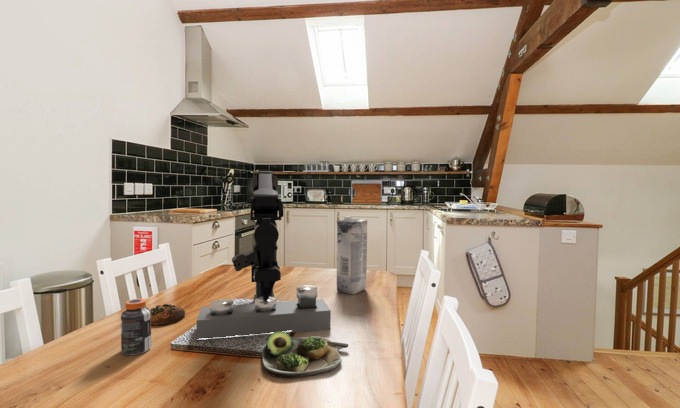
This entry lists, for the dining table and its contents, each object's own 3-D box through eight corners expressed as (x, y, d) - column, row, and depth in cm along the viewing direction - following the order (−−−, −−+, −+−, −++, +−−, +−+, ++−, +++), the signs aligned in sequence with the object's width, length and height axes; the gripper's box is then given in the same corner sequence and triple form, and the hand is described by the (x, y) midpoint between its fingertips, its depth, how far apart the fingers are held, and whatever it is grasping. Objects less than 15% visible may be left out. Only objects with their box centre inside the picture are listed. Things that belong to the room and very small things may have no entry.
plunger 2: (295, 310, 101) (295, 285, 100) (314, 308, 102) (315, 284, 102) (297, 317, 95) (298, 291, 95) (318, 315, 97) (319, 290, 96)
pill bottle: (157, 347, 83) (156, 298, 83) (132, 358, 78) (132, 306, 77) (139, 342, 86) (139, 295, 85) (115, 352, 81) (114, 302, 80)
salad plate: (340, 338, 91) (340, 319, 91) (360, 374, 73) (360, 351, 73) (261, 344, 86) (261, 325, 86) (262, 384, 69) (262, 360, 69)
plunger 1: (211, 325, 95) (211, 299, 95) (233, 324, 97) (233, 298, 96) (209, 334, 90) (209, 306, 90) (232, 332, 91) (232, 305, 91)
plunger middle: (254, 322, 98) (254, 297, 98) (275, 320, 99) (275, 295, 99) (255, 330, 93) (255, 303, 92) (277, 328, 94) (277, 302, 94)
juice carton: (369, 289, 133) (370, 216, 132) (354, 296, 124) (355, 217, 123) (348, 285, 138) (349, 214, 137) (333, 292, 129) (334, 216, 128)
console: (201, 325, 97) (201, 307, 96) (322, 315, 105) (322, 298, 105) (196, 341, 87) (196, 320, 87) (330, 329, 95) (330, 310, 95)
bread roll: (188, 321, 100) (185, 303, 99) (142, 334, 94) (139, 316, 94) (183, 310, 109) (180, 294, 109) (141, 322, 104) (138, 305, 103)
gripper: (234, 236, 102) (234, 291, 103) (232, 247, 84) (232, 314, 85) (274, 236, 105) (274, 289, 106) (281, 246, 87) (280, 310, 88)
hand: (265, 299), depth 96 cm, fingers closed, pressing on plunger middle
